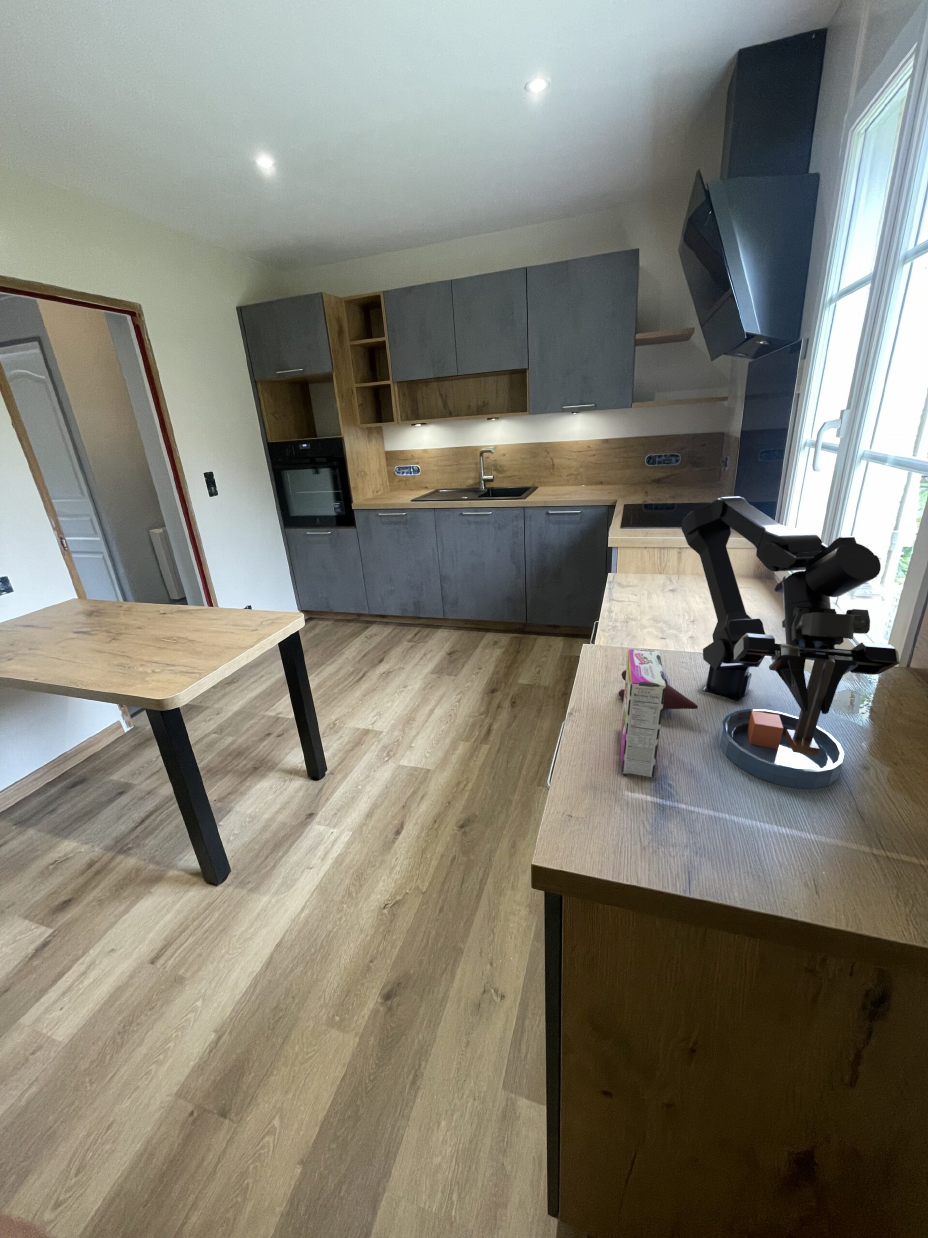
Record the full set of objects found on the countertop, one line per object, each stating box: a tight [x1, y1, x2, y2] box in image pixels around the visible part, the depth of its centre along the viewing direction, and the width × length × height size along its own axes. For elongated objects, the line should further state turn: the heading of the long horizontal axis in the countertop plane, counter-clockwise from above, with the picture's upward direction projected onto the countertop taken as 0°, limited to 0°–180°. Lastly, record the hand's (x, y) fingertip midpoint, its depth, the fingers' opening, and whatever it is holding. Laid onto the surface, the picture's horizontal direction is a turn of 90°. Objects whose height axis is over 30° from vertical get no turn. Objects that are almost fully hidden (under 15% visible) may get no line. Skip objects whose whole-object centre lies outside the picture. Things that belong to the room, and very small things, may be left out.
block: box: [747, 711, 784, 749], centre depth 80 cm, size 4×4×4 cm
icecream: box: [617, 669, 699, 710], centre depth 89 cm, size 7×7×15 cm
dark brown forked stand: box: [785, 658, 835, 755], centre depth 68 cm, size 4×3×14 cm
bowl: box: [718, 708, 846, 790], centre depth 77 cm, size 16×16×4 cm
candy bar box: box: [620, 648, 666, 778], centre depth 75 cm, size 11×5×16 cm, turn 164°
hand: (815, 712), depth 67 cm, fingers closed on dark brown forked stand, 2 cm apart
